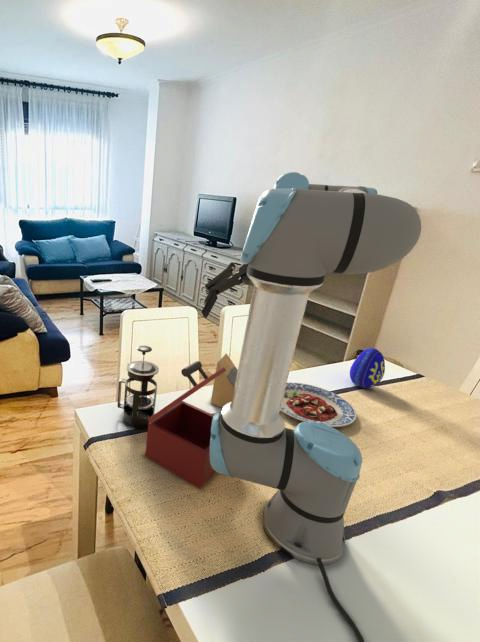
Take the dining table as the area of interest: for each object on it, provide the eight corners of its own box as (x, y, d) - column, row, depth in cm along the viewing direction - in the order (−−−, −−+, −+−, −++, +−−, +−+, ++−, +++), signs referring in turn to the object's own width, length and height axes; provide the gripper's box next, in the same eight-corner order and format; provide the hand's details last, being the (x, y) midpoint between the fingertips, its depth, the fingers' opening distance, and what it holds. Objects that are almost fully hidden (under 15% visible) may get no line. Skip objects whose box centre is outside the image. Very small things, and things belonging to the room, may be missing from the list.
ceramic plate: (374, 427, 115) (377, 419, 114) (301, 436, 109) (303, 427, 108) (315, 385, 138) (317, 378, 137) (251, 390, 132) (253, 383, 131)
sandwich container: (258, 420, 115) (268, 376, 109) (210, 403, 122) (217, 361, 117) (265, 408, 122) (275, 365, 116) (218, 392, 129) (225, 352, 124)
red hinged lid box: (230, 457, 99) (236, 425, 95) (200, 489, 88) (206, 453, 84) (177, 430, 108) (181, 400, 104) (145, 456, 97) (148, 422, 94)
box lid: (226, 370, 93) (212, 351, 94) (194, 392, 82) (178, 370, 83) (183, 400, 104) (170, 382, 105) (149, 422, 93) (136, 402, 95)
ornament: (362, 394, 134) (376, 355, 128) (339, 382, 141) (351, 345, 136) (383, 389, 138) (397, 351, 132) (360, 378, 146) (372, 341, 140)
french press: (159, 415, 115) (167, 344, 106) (151, 432, 107) (159, 358, 98) (122, 406, 118) (127, 337, 110) (112, 422, 110) (116, 349, 101)
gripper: (315, 272, 95) (280, 344, 90) (223, 256, 109) (189, 317, 104) (314, 252, 89) (277, 328, 84) (217, 238, 104) (180, 301, 99)
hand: (228, 322), depth 94 cm, fingers open, 13 cm apart
